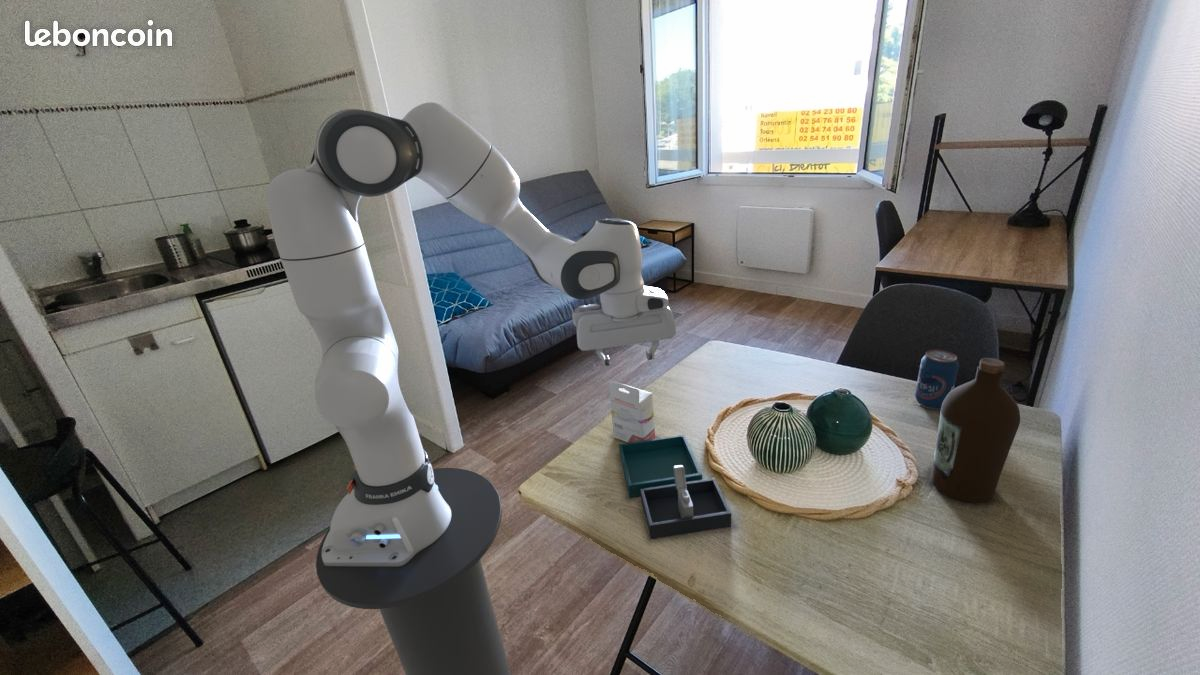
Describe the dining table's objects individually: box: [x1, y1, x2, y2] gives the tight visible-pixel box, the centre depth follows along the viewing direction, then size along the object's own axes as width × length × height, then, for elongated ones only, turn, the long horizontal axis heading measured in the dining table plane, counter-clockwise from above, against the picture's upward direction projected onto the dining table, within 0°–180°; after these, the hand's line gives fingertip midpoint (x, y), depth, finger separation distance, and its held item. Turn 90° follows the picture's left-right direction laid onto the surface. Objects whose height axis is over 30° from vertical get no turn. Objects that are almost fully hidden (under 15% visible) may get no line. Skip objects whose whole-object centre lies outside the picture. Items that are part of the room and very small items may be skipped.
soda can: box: [914, 349, 960, 410], centre depth 111 cm, size 7×7×12 cm
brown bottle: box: [930, 357, 1021, 504], centre depth 85 cm, size 11×11×25 cm
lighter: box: [673, 465, 693, 519], centre depth 89 cm, size 7×2×8 cm, turn 6°
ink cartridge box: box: [608, 379, 656, 443], centre depth 110 cm, size 9×5×15 cm, turn 50°
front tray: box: [640, 477, 732, 540], centre depth 90 cm, size 14×9×3 cm, turn 96°
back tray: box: [618, 434, 703, 499], centre depth 101 cm, size 14×13×3 cm
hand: (628, 361), depth 105 cm, fingers open, 8 cm apart
